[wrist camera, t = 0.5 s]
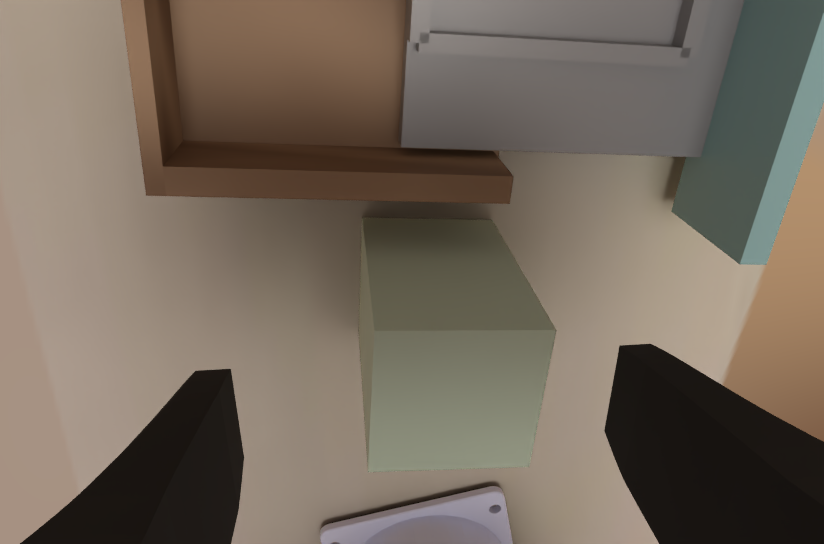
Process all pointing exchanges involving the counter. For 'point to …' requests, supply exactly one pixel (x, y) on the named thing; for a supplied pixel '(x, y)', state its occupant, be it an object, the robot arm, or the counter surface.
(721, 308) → the counter surface
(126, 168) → the counter surface
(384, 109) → the brown shallow rectangular box
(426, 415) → the block
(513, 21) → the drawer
